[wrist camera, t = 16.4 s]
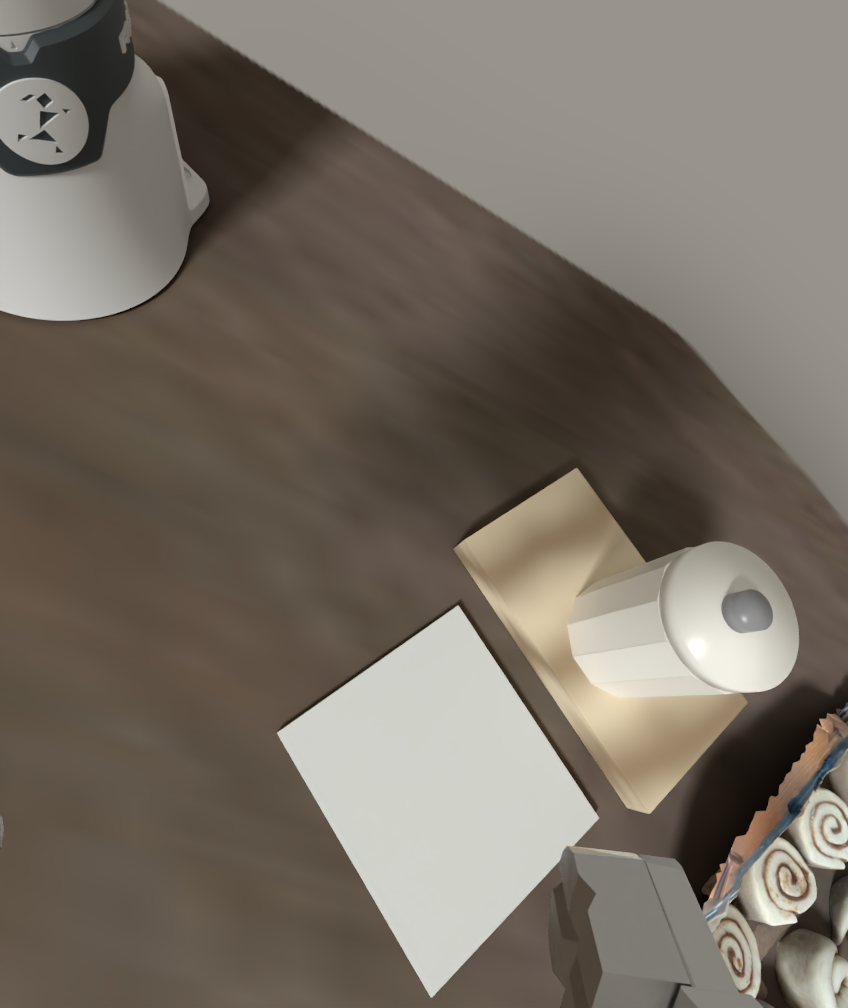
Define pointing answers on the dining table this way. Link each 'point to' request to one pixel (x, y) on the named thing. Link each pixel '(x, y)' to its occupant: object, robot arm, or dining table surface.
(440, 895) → the rubber mat
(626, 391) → the dining table surface
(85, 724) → the dining table surface
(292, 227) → the dining table surface
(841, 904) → the baking tray
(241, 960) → the dining table surface
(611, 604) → the lidded storage canister
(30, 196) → the robot arm
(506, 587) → the maple board
